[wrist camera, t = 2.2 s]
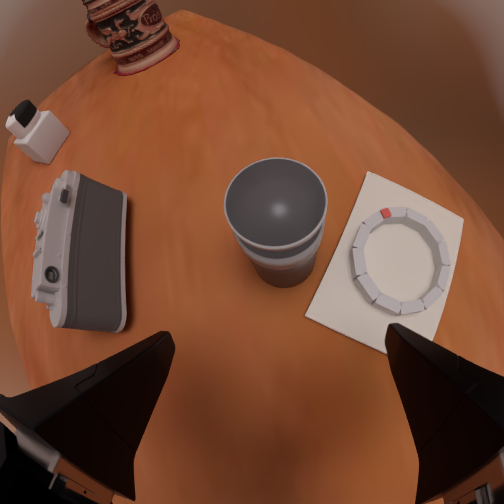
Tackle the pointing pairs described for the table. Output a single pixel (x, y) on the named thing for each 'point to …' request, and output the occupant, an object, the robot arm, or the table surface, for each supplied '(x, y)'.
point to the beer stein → (130, 32)
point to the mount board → (389, 265)
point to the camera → (81, 254)
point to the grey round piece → (278, 218)
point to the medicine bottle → (36, 132)
